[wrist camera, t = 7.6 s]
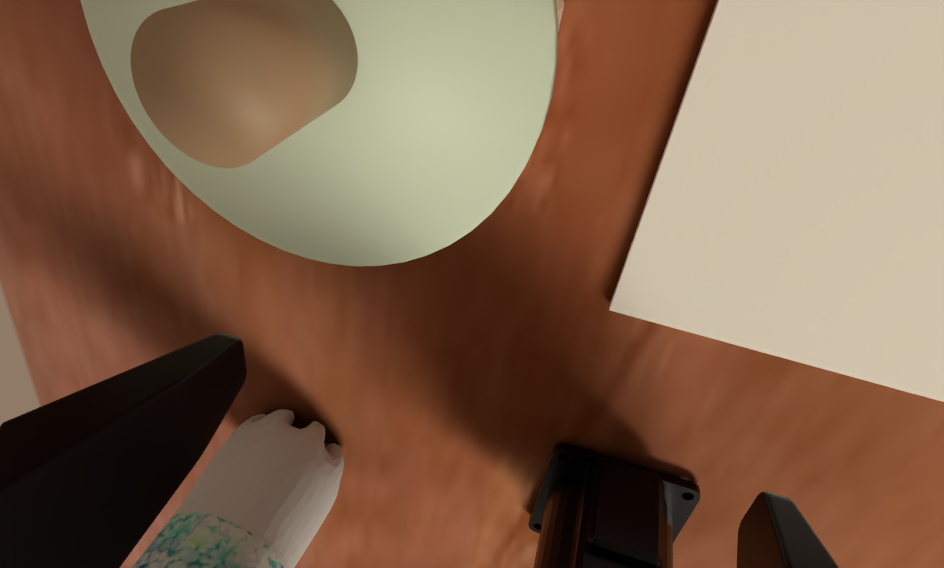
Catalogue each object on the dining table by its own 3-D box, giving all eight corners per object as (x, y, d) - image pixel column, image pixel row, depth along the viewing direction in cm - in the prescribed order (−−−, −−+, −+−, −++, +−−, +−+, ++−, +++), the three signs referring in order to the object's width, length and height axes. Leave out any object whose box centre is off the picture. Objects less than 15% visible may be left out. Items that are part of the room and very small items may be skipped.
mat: (1017, 415, 20) (1022, 423, 20) (609, 304, 22) (609, 309, 22) (1490, -52, 12) (1512, -49, 12) (775, -165, 14) (778, -166, 13)
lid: (507, 298, 19) (466, 405, 15) (145, 198, 20) (25, 271, 17) (626, -246, 11) (605, -314, 7) (33, -331, 13) (-235, -421, 9)
